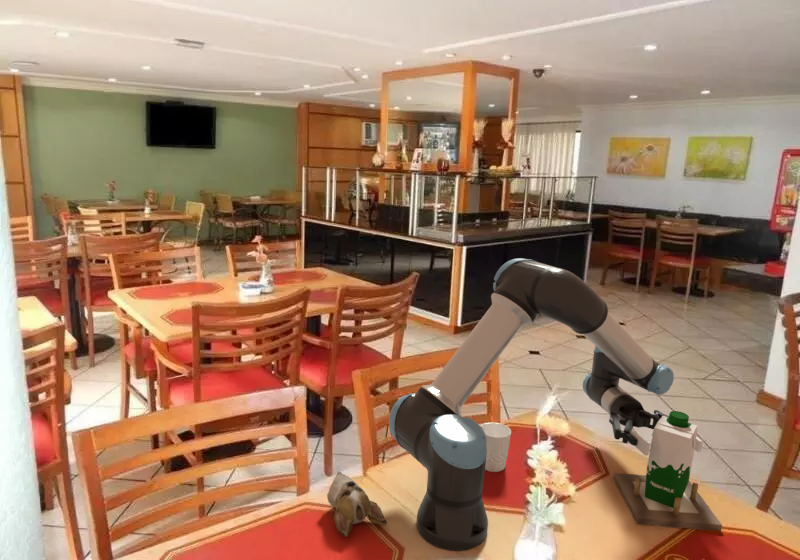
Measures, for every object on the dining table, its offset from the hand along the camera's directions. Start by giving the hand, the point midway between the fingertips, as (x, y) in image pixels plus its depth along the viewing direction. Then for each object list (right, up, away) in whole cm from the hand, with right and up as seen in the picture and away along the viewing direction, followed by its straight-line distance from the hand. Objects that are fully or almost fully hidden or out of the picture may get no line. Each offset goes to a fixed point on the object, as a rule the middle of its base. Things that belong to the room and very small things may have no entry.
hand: (674, 448), depth 131 cm
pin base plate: (-1, -14, +3) cm, 14 cm away
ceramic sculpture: (-73, -13, -7) cm, 75 cm away
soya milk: (-1, -12, +3) cm, 13 cm away
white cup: (-39, -9, +16) cm, 43 cm away
